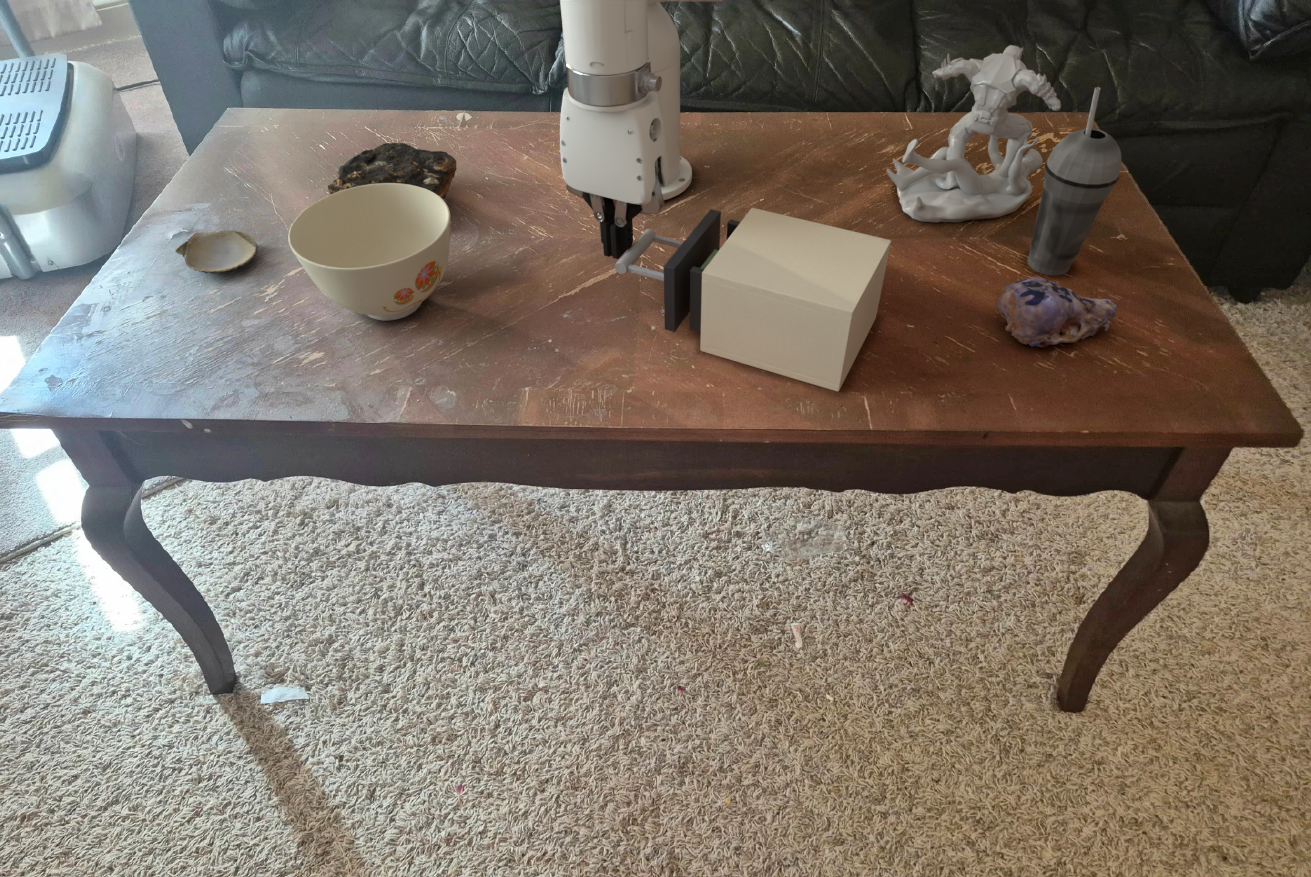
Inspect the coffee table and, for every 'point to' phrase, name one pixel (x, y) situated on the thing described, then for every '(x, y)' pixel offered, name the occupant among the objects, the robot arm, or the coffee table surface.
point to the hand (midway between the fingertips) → (617, 250)
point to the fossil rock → (398, 169)
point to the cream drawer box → (792, 297)
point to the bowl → (375, 247)
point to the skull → (1051, 312)
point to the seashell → (218, 251)
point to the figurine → (1008, 182)
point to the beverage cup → (1073, 195)
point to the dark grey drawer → (680, 268)
